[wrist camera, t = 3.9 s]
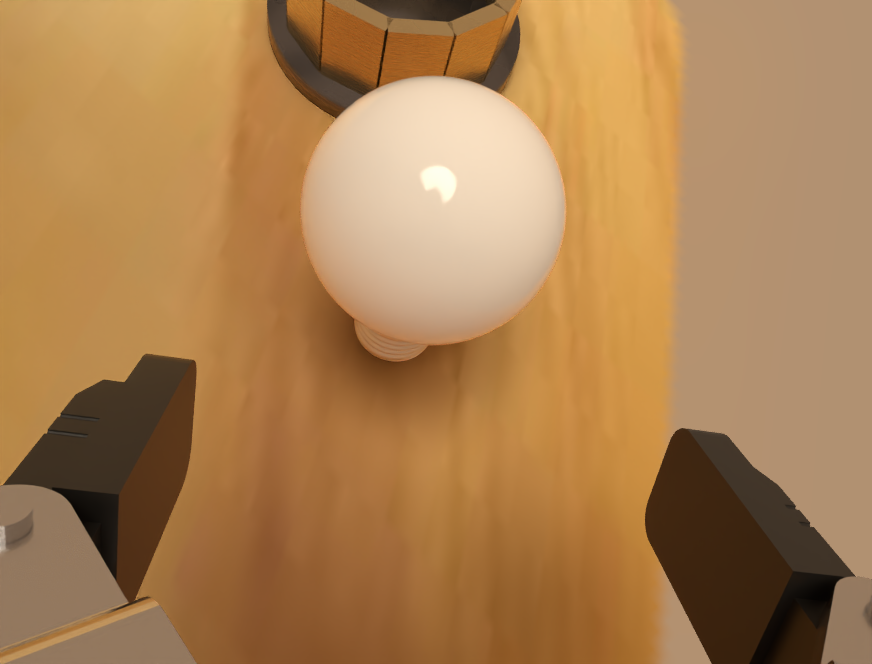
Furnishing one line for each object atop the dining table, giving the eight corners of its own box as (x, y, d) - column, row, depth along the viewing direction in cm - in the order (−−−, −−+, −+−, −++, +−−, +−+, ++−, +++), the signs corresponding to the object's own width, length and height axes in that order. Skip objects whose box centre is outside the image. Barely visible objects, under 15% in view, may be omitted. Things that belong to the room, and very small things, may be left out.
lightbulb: (408, 218, 27) (480, -27, 17) (518, 353, 25) (668, 178, 15) (259, 307, 24) (237, 87, 14) (372, 460, 23) (437, 338, 13)
